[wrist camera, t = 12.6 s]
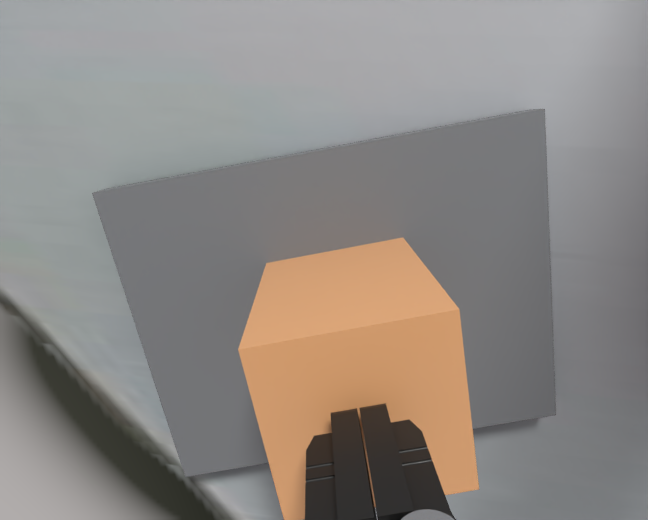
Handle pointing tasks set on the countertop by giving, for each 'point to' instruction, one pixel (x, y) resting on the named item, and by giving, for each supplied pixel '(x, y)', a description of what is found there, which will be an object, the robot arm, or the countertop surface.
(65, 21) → the countertop surface
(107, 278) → the countertop surface
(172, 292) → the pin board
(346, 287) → the peach foam cube
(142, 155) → the countertop surface
